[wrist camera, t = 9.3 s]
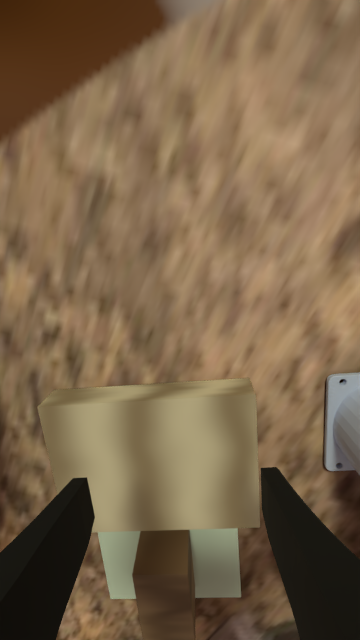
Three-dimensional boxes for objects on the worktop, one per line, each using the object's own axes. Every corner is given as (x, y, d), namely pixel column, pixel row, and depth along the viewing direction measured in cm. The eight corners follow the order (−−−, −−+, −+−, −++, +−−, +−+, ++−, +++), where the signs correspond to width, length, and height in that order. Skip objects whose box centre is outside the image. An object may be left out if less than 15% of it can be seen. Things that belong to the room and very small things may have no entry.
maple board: (249, 377, 22) (255, 394, 19) (253, 499, 24) (260, 527, 22) (54, 390, 23) (37, 407, 20) (78, 505, 25) (66, 533, 23)
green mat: (235, 505, 25) (236, 510, 24) (240, 591, 27) (241, 597, 26) (96, 509, 25) (94, 515, 25) (112, 592, 28) (110, 598, 27)
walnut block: (187, 574, 21) (195, 643, 22) (188, 522, 25) (195, 585, 26) (132, 574, 21) (143, 644, 23) (141, 523, 25) (151, 586, 27)
